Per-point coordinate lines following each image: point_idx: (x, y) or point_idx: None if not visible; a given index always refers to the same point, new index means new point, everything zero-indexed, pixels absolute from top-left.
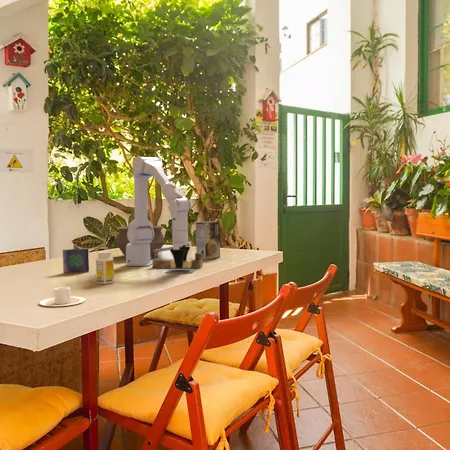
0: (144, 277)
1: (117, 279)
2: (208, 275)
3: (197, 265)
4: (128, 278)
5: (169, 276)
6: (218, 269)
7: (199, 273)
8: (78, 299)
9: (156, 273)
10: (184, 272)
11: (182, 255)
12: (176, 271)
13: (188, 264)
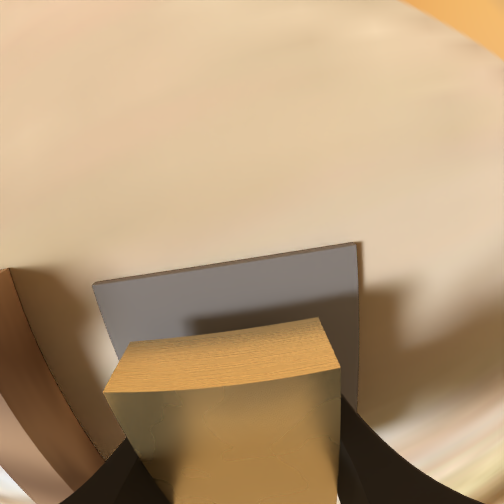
0: (481, 449)
1: (489, 484)
2: (434, 28)
3: (2, 309)
4: (483, 475)
5: (488, 361)
6: (25, 52)
7: (342, 147)
8: None
9: None
10: (358, 327)
11: (447, 494)
12: None
13: (329, 353)
